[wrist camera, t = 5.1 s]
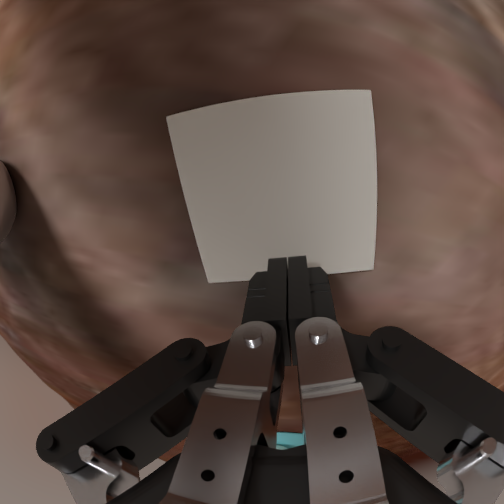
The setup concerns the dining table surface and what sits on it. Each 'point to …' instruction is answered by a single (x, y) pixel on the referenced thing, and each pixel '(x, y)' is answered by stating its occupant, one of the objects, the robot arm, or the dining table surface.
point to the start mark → (280, 181)
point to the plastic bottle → (6, 202)
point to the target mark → (289, 439)
